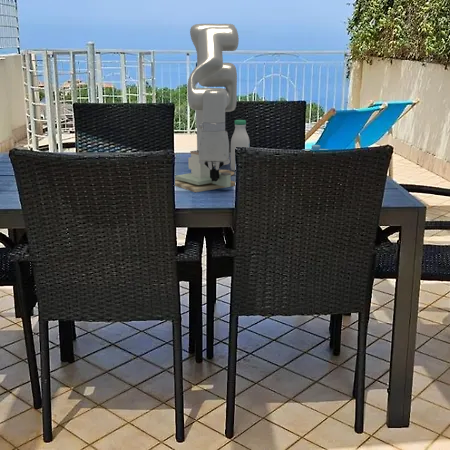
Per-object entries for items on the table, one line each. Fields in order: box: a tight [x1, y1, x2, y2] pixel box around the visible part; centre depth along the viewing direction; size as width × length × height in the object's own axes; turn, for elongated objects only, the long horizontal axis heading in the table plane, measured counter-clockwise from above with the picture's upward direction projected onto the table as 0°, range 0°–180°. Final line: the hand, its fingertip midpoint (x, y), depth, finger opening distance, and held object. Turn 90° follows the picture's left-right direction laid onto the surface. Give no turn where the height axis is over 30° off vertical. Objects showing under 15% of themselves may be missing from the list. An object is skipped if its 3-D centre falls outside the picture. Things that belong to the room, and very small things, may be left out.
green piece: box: [174, 172, 232, 188], centre depth 219 cm, size 14×22×5 cm, turn 40°
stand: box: [174, 178, 236, 193], centre depth 223 cm, size 18×18×2 cm
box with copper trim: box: [187, 149, 210, 178], centre depth 222 cm, size 6×8×9 cm
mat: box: [219, 169, 235, 177], centre depth 242 cm, size 12×12×1 cm
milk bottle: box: [230, 119, 251, 172], centre depth 247 cm, size 8×8×20 cm
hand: (214, 180), depth 213 cm, fingers closed
